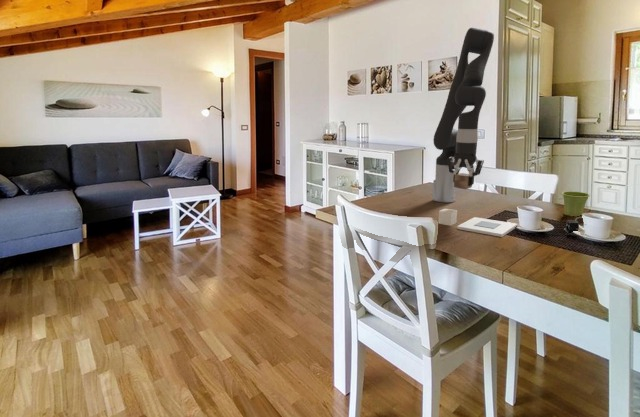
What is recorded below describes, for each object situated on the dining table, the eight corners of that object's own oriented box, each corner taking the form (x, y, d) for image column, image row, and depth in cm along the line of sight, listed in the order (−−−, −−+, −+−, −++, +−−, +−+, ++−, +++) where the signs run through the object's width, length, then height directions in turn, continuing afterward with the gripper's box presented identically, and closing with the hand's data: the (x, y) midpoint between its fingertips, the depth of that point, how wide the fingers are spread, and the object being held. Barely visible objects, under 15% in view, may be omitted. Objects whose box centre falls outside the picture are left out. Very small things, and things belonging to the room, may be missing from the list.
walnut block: (453, 187, 163) (455, 174, 162) (459, 185, 167) (460, 172, 166) (466, 189, 160) (467, 176, 159) (471, 187, 164) (473, 174, 162)
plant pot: (591, 218, 163) (594, 196, 161) (564, 217, 164) (567, 196, 162) (581, 212, 172) (583, 191, 169) (556, 211, 173) (558, 191, 171)
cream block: (438, 223, 160) (439, 211, 159) (444, 221, 164) (444, 208, 163) (450, 226, 157) (451, 213, 156) (456, 223, 161) (457, 210, 159)
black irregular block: (556, 228, 153) (558, 216, 152) (579, 229, 150) (581, 217, 149) (563, 238, 141) (565, 225, 140) (588, 240, 139) (590, 227, 138)
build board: (457, 228, 153) (457, 225, 153) (474, 219, 164) (474, 216, 164) (502, 237, 142) (502, 233, 142) (517, 226, 154) (517, 223, 154)
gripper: (444, 140, 161) (441, 183, 165) (481, 142, 152) (477, 188, 156) (453, 139, 166) (450, 181, 171) (489, 141, 157) (485, 185, 161)
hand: (463, 184), depth 163 cm, fingers closed on walnut block, 5 cm apart
